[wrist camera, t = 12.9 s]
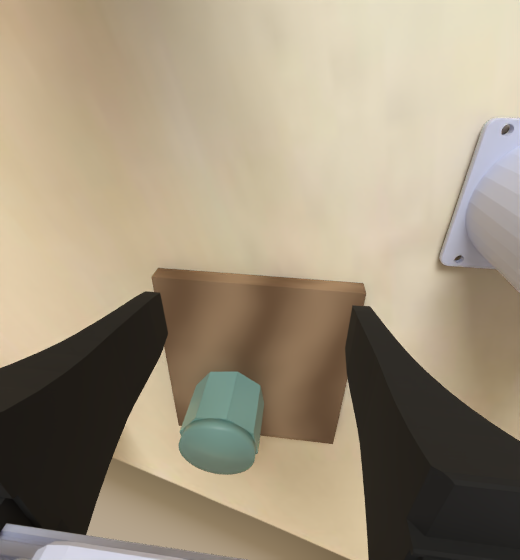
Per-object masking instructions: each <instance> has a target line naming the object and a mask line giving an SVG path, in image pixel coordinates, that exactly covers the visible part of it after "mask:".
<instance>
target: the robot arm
mask: <svg viewBox="0 0 520 560" xmlns="http://www.w3.org/2000/svg"><path fill="white" fill-rule="evenodd" d="M508 124H509V126H510V128H509V131H508V132H507V133H506V134H504V135H502V133H501V132H502V129H503V127H504V126H506V125H508ZM460 255H461V258H460V259H458V260H454V259H455V258H456V257H457V256H460ZM439 259H440V261H441V263H442V264H443V265H446V266H457V267H471V268H486V269H496V270H497V271H498V272H499V273H500V274H501V275H502V276H503V277H504V278H505V279H506V280H507V281H508V282H509V283H510V284H511V285H512V286H513V287H514V288H515V289H516V290H517V291H518V292H519V293H520V118H498V117H497V118H492V119H490V120H488V121H487V122H486V123H485V124H484V126H483V128H482V131H481V134H480V137H479V140H478V143H477V146H476V149H475V152H474V155H473V158H472V161H471V163H470V166H469V169H468V172H467V175H466V178H465V181H464V184H463V187H462V190H461V193H460V196H459V199H458V202H457V205H456V208H455V211H454V214H453V217H452V220H451V223H450V226H449V229H448V232H447V235H446V238H445V241H444V244H443V247H442V249H441V252H440V255H439ZM167 336H168V330H167V325H166V319H165V314H164V309H163V304H162V299H161V294H160V293H159V292H143V293H142V294H140V295H138V296H136V297H135V298H133V299H132V300H130V301H129V302H127V303H125V304H124V305H122V306H121V307H119V308H118V309H116V310H115V311H113V312H111V313H110V314H108V315H107V316H105V317H104V318H102V319H100V320H99V321H97V322H95V323H94V324H92V325H90V326H89V327H87V328H85V329H83V330H82V331H80V332H78V333H77V334H75V335H73V336H71V337H69V338H67V339H66V340H64V341H62V342H60V343H58V344H56V345H54V346H52V347H49V348H47V349H45V350H43V351H41V352H39V353H36V354H34V355H32V356H29V357H27V358H25V359H22V360H20V361H17V362H15V363H13V364H10V365H8V366H5V367H2V368H0V560H246V559H240V558H233V557H226V556H220V555H214V554H207V553H200V552H194V551H187V550H180V549H173V548H167V547H160V546H154V545H147V544H140V543H133V542H127V541H121V540H114V539H107V538H100V537H94V536H87V535H86V533H87V530H88V526H89V524H90V520H91V517H92V514H93V511H94V508H95V504H96V501H97V498H98V496H99V493H100V489H101V487H102V484H103V481H104V478H105V475H106V473H107V470H108V467H109V464H110V462H111V459H112V457H113V454H114V451H115V449H116V446H117V443H118V441H119V438H120V436H121V434H122V431H123V429H124V426H125V424H126V421H127V419H128V417H129V415H130V412H131V410H132V408H133V406H134V404H135V403H136V401H137V399H138V397H139V395H140V393H141V391H142V390H143V388H144V386H145V384H146V382H147V380H148V378H149V377H150V375H151V373H152V371H153V369H154V367H155V365H156V363H157V361H158V359H159V357H160V355H161V353H162V350H163V347H164V345H165V342H166V339H167ZM345 356H346V370H347V377H348V382H349V388H350V393H351V398H352V403H353V408H354V413H355V418H356V423H357V428H358V434H359V441H360V450H361V461H362V471H363V483H364V495H365V509H366V523H367V538H368V556H369V560H520V441H519V440H517V439H515V438H514V437H512V436H511V435H509V434H507V433H506V432H504V431H503V430H501V429H500V428H498V427H497V426H495V425H494V424H492V423H491V422H489V421H488V420H486V419H485V418H484V417H482V416H481V415H479V414H478V413H477V412H475V411H474V410H472V409H471V408H470V407H469V406H467V405H466V404H465V403H463V402H462V401H461V400H459V399H458V398H457V397H455V396H454V395H453V394H452V393H450V392H449V391H448V390H447V389H446V388H444V387H443V386H442V385H441V384H440V383H439V382H438V381H436V380H435V379H434V378H433V377H432V376H431V375H430V374H429V373H427V372H426V371H425V370H424V369H423V368H422V367H421V366H420V365H419V364H418V363H417V362H416V361H415V360H414V359H413V358H412V357H411V356H410V354H409V353H408V352H407V351H406V350H405V349H404V348H403V347H402V346H401V344H400V343H399V342H398V341H397V340H396V339H395V337H394V336H393V335H392V334H391V333H390V331H389V330H388V329H387V328H386V326H385V325H384V324H383V322H382V321H381V320H380V319H379V317H378V316H377V315H376V313H375V312H374V311H373V309H372V308H371V307H370V306H356V305H352V311H351V316H350V322H349V328H348V334H347V339H346V345H345Z"/></svg>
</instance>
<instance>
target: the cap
mask: <svg viewBox="0 0 520 560" xmlns="http://www.w3.org/2000/svg"><path fill="white" fill-rule="evenodd" d="M263 409H264V401H263V395H262V390H261V386H260V385H259V384H257V383H256V382H254V381H252V380H251V379H249V378H247V377H246V376H244V375H243V374H241V373H239V372H210V373H209V374H208V375H207V376H206V377H204V378H203V379H202V380H201V381H200V382H199V383H198V384H197V385H196V388H195V390H194V393H193V396H192V399H191V402H190V404H189V407H188V410H187V413H186V416H185V418H184V421H183V424H182V427H181V430H180V434H181V439H180V442H179V450H180V453H181V454H182V456H183V457H184V458H185V459H186V460H187V461H188V462H189V463H191V464H192V465H194V466H195V467H197V468H199V469H202V470H204V471H207V472H211V473H215V474H227V475H228V474H237V473H241V472H243V471H246V470H247V469H249V468H250V467H251V466H252V464H253V463H254V459H255V454H257V453H258V448H259V440H260V432H261V425H262V417H263Z"/></svg>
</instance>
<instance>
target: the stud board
mask: <svg viewBox="0 0 520 560" xmlns="http://www.w3.org/2000/svg"><path fill="white" fill-rule="evenodd" d="M152 282H153V287H154V292H159V293H160V294H161V299H162V304H163V309H164V314H165V319H166V325H167V330H168V336H167V339H166V342H165V345H164V347H165V353H166V358H167V364H168V369H169V374H170V380H171V385H172V391H173V396H174V402H175V407H176V413H177V418H178V423H179V426H182V424H183V421H184V418H185V416H186V413H187V410H188V407H189V404H190V402H191V399H192V396H193V393H194V390H195V388H196V385H197V384H198V383H199V382H200V381H201V380H202V379H203V378H204V377H206V376H207V375H208V374H209V373H210V372H239V373H241V374H243V375H244V376H246V377H247V378H249V379H251V380H252V381H254V382H256V383H257V384H259V385H260V386H261V390H262V395H263V401H264V409H263V417H262V425H261V432H260V435H262V436H271V437H279V438H287V439H296V440H304V441H312V442H321V443H329V444H333V441H334V436H335V432H336V427H337V423H338V418H339V414H340V409H341V405H342V400H343V396H344V391H345V387H346V382H347V378H348V377H347V370H346V356H345V345H346V339H347V334H348V328H349V322H350V316H351V311H352V305H356V306H363V305H364V301H365V296H366V291H365V288H364V284H363V283H351V282H337V281H324V280H310V279H297V278H284V277H270V276H257V275H243V274H230V273H217V272H203V271H190V270H176V269H163V268H158V269H157V271H156V272H155V273H154V274H153V276H152Z"/></svg>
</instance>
